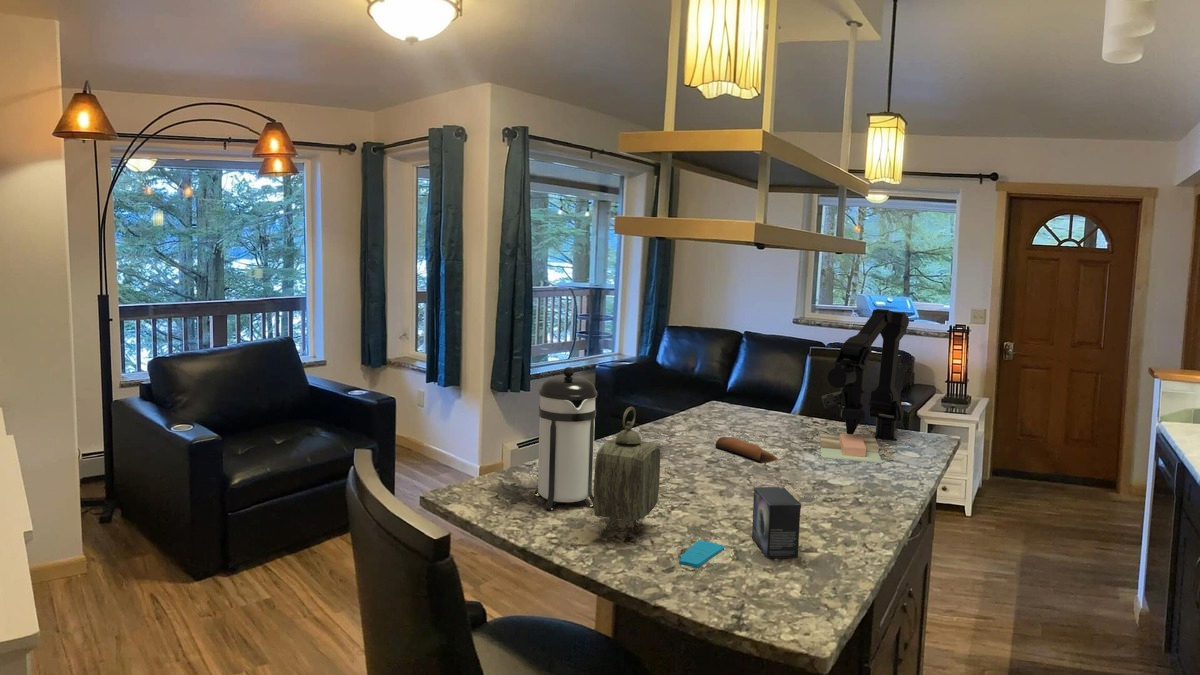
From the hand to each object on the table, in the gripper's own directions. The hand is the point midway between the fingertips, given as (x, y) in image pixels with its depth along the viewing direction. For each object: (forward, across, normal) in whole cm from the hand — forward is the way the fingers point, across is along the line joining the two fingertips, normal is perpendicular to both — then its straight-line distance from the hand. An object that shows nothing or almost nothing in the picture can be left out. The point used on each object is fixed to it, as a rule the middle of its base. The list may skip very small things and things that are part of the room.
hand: (849, 437), depth 225 cm
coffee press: (+4, +73, -65) cm, 98 cm away
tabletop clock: (+4, +87, -47) cm, 99 cm away
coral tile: (+2, +5, +1) cm, 5 cm away
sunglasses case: (+4, +17, -28) cm, 33 cm away
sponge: (+5, +94, -32) cm, 100 cm away
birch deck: (+4, -4, 0) cm, 5 cm away
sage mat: (+4, +8, 0) cm, 8 cm away
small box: (+4, +86, -18) cm, 88 cm away
